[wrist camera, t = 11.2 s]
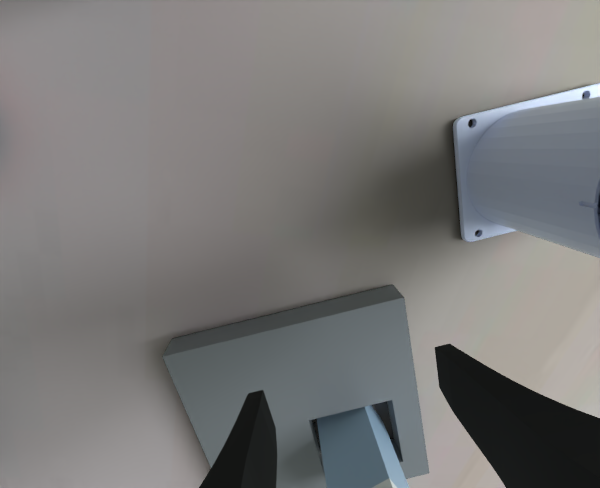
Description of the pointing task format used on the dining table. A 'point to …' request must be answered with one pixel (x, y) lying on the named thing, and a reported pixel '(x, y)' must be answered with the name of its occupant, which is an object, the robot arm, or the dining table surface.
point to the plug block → (358, 451)
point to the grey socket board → (304, 378)
